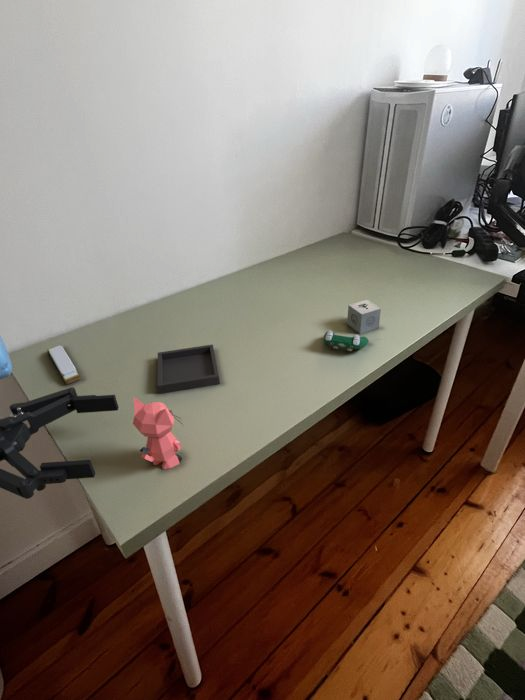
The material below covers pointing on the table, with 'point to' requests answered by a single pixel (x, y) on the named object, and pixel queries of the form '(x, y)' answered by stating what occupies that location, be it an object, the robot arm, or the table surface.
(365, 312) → the dice cube
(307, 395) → the table surface
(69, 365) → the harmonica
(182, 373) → the black tray
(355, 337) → the green elongated piece
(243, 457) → the table surface
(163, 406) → the cat figurine
